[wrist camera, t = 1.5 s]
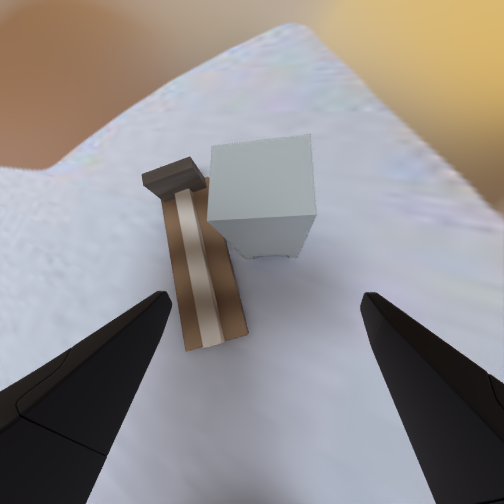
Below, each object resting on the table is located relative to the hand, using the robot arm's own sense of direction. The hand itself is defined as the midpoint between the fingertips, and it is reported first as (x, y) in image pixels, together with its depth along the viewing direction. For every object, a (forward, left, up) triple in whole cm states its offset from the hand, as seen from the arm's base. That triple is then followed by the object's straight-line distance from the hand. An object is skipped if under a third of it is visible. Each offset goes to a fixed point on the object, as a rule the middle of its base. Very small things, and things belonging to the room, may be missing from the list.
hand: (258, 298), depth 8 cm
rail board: (+1, +10, -13) cm, 16 cm away
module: (+6, +3, -13) cm, 14 cm away
